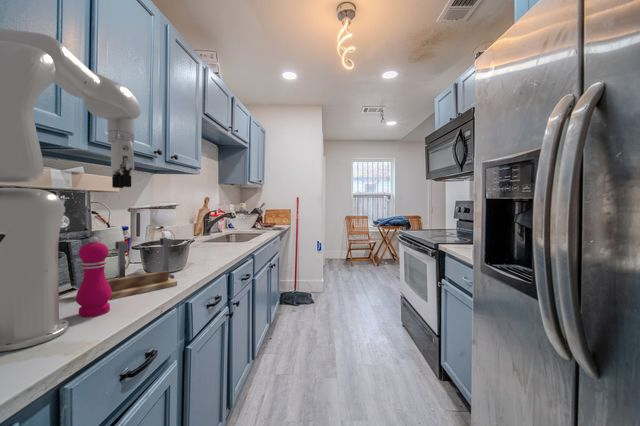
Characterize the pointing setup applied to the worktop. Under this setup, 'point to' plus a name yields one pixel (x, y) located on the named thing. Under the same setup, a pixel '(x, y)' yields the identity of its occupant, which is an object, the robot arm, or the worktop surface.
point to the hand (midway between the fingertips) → (121, 187)
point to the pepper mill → (93, 280)
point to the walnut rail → (138, 280)
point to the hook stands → (124, 247)
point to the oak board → (143, 288)
